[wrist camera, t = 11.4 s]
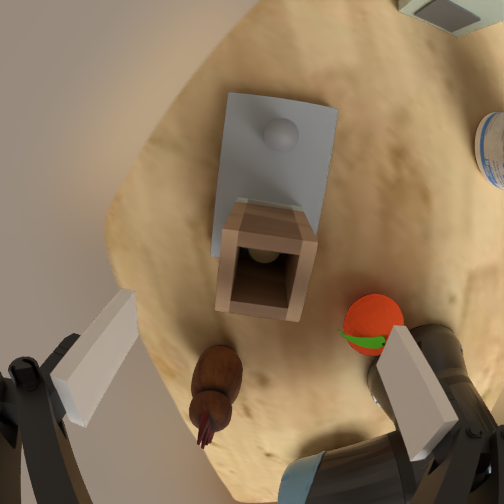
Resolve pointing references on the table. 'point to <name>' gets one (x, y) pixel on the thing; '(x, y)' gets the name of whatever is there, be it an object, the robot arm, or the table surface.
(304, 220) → the sleeve
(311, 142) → the pin board
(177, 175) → the table surface
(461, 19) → the tower
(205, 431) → the wooden figurine
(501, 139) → the supplement tub
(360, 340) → the clementine
